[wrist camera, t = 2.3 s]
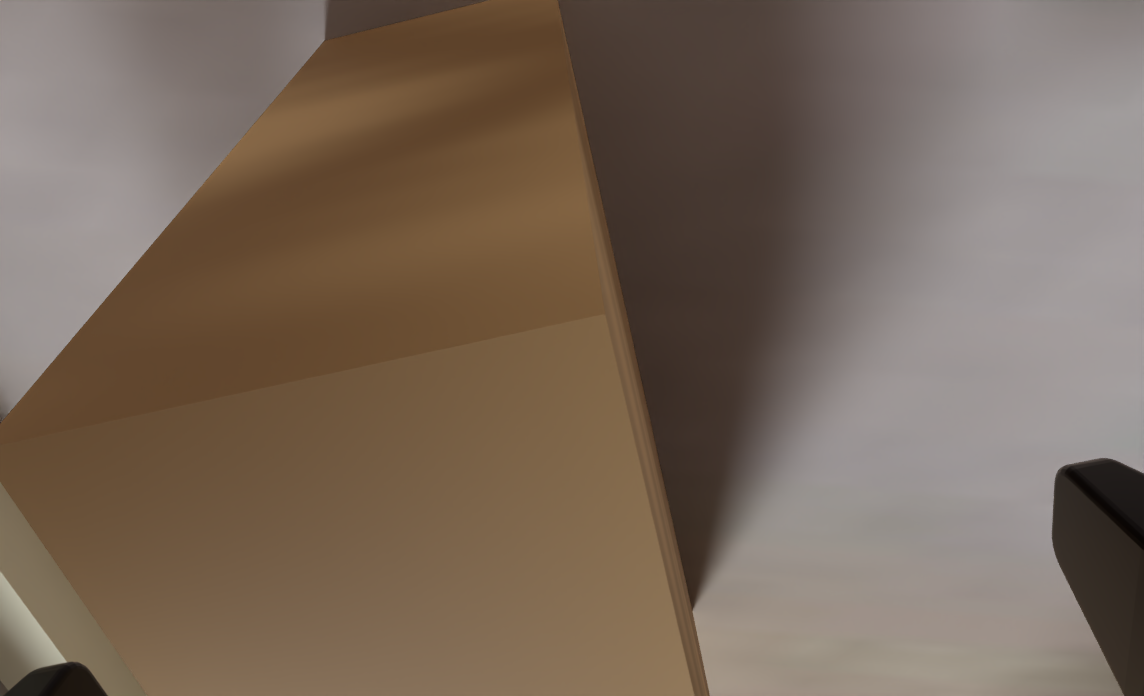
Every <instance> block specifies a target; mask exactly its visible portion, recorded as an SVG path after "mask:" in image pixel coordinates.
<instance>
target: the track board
mask: <svg viewBox="0 0 1144 696" xmlns="http://www.w3.org/2000/svg"><path fill="white" fill-rule="evenodd" d="M71 661H73V662H79V663H81V664H83V665H85V666H86V667H87V668H88V669H89V670H90V671H91V672H92V674H93V675H94V677H95V678H96V679H97V681H98V682H99V684H100V685H101V686H102V688H103V689H104V691H105V692H106V693H107V695H108V696H147V695H146V693H145V692H144V690H143V689H142V687H141V686H140V684H139V683H138V682H137V680H136V679H135V677H134V676H133V674H132V673H131V671H130V670H129V668H128V667H127V666H126V664H125V663H124V661H123V660H122V658H121V657H120V655H119V654H118V652H117V651H116V650H115V648H114V647H113V645H112V644H111V642H110V641H109V639H108V638H107V636H106V635H105V634H104V632H103V631H102V629H101V628H100V626H99V625H98V623H97V622H96V620H95V619H94V618H93V616H92V615H91V613H90V612H89V610H88V609H87V607H86V606H85V604H84V603H83V602H82V600H81V599H80V597H79V596H78V594H77V593H76V591H75V590H74V588H73V587H72V586H71V584H70V583H69V581H68V580H67V578H66V577H65V575H64V574H63V573H62V571H61V570H60V568H59V567H58V565H57V564H56V562H55V561H54V559H53V558H52V557H51V555H50V554H49V552H48V551H47V549H46V548H45V546H44V545H43V543H42V542H41V541H40V539H39V538H38V536H37V535H36V533H35V532H34V530H33V529H32V527H31V526H30V525H29V523H28V522H27V520H26V519H25V517H24V516H23V514H22V513H21V511H20V510H19V509H18V507H17V506H16V504H15V503H14V501H13V500H12V498H11V497H10V495H9V494H8V493H7V491H6V490H5V488H4V487H3V485H2V484H1V482H0V696H3V695H4V694H5V693H6V692H8V691H9V690H10V689H11V688H12V687H13V686H14V685H16V684H17V683H18V682H19V681H20V680H21V679H22V678H23V677H25V676H26V675H27V674H28V673H30V672H31V671H33V670H35V669H38V668H41V667H45V666H50V665H55V664H60V663H65V662H71Z"/></svg>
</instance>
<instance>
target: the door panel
mask: <svg viewBox="0 0 1144 696" xmlns="http://www.w3.org/2000/svg"><path fill="white" fill-rule="evenodd" d="M0 482H1V484H2V485H3V487H4V488H5V490H6V491H7V493H8V494H9V495H10V497H11V498H12V500H13V501H14V503H15V504H16V506H17V507H18V509H19V510H20V511H21V513H22V514H23V516H24V517H25V519H26V520H27V522H28V523H29V525H30V526H31V527H32V529H33V530H34V532H35V533H36V535H37V536H38V538H39V539H40V541H41V542H42V543H43V545H44V546H45V548H46V549H47V551H48V552H49V554H50V555H51V557H52V558H53V559H54V561H55V562H56V564H57V565H58V567H59V568H60V570H61V571H62V573H63V574H64V575H65V577H66V578H67V580H68V581H69V583H70V584H71V586H72V587H73V588H74V590H75V591H76V593H77V594H78V596H79V597H80V599H81V600H82V602H83V603H84V604H85V606H86V607H87V609H88V610H89V612H90V613H91V615H92V616H93V618H94V619H95V620H96V622H97V623H98V625H99V626H100V628H101V629H102V631H103V632H104V634H105V635H106V636H107V638H108V639H109V641H110V642H111V644H112V645H113V647H114V648H115V650H116V651H117V652H118V654H119V655H120V657H121V658H122V660H123V661H124V663H125V664H126V666H127V667H128V668H129V670H130V671H131V673H132V674H133V676H134V677H135V679H136V680H137V682H138V683H139V684H140V686H141V687H142V689H143V690H144V692H145V693H146V695H147V696H710V695H709V690H708V685H707V680H706V676H705V671H704V666H703V661H702V656H701V651H700V646H699V642H698V637H697V632H696V627H695V622H694V617H693V612H692V608H691V603H690V599H689V594H688V590H687V585H686V580H685V576H684V571H683V567H682V562H681V558H680V553H679V549H678V544H677V540H676V535H675V531H674V526H673V521H672V517H671V512H670V508H669V503H668V499H667V494H666V490H665V485H664V481H663V476H662V472H661V467H660V462H659V458H658V453H657V449H656V444H655V440H654V435H653V431H652V426H651V422H650V417H649V413H648V408H647V403H646V399H645V394H644V390H643V385H642V381H641V376H640V372H639V367H638V363H637V358H636V354H635V349H634V344H633V340H632V335H631V331H630V326H629V322H628V317H627V313H626V308H625V304H624V299H623V295H622V290H621V285H620V281H619V276H618V272H617V267H616V263H615V258H614V254H613V249H612V245H611V240H610V236H609V231H608V226H607V222H606V217H605V213H604V208H603V204H602V199H601V195H600V190H599V186H598V181H597V177H596V172H595V167H594V163H593V158H592V154H591V149H590V145H589V140H588V136H587V131H586V127H585V122H584V118H583V113H582V108H581V104H580V99H579V95H578V90H577V86H576V81H575V77H574V72H573V68H572V63H571V58H570V54H569V49H568V45H567V40H566V36H565V31H564V27H563V22H562V18H561V13H560V9H559V4H558V0H489V1H485V2H480V3H476V4H472V5H468V6H464V7H460V8H456V9H452V10H448V11H444V12H440V13H436V14H431V15H427V16H423V17H419V18H415V19H411V20H407V21H403V22H399V23H395V24H391V25H387V26H382V27H378V28H374V29H370V30H366V31H362V32H358V33H354V34H350V35H346V36H342V37H338V38H333V39H329V40H325V41H324V42H323V43H322V44H321V46H320V47H319V48H318V49H317V50H316V51H315V53H314V54H313V55H312V56H311V57H310V59H309V60H308V61H307V62H306V63H305V64H304V66H303V67H302V68H301V69H300V70H299V72H298V73H297V74H296V75H295V76H294V77H293V79H292V80H291V81H290V82H289V83H288V85H287V86H286V87H285V88H284V89H283V90H282V92H281V93H280V94H279V95H278V96H277V98H276V99H275V100H274V101H273V102H272V103H271V105H270V106H269V107H268V108H267V109H266V111H265V112H264V113H263V114H262V115H261V116H260V118H259V119H258V120H257V121H256V122H255V123H254V125H253V126H252V127H251V128H250V129H249V131H248V132H247V133H246V134H245V135H244V136H243V138H242V139H241V140H240V141H239V142H238V144H237V145H236V146H235V147H234V148H233V149H232V151H231V152H230V153H229V154H228V155H227V157H226V158H225V159H224V160H223V161H222V162H221V164H220V165H219V166H218V167H217V168H216V170H215V171H214V172H213V173H212V174H211V175H210V177H209V178H208V179H207V180H206V181H205V183H204V184H203V185H202V186H201V187H200V188H199V190H198V191H197V192H196V193H195V194H194V196H193V197H192V198H191V199H190V200H189V201H188V203H187V204H186V205H185V206H184V207H183V209H182V210H181V211H180V212H179V213H178V214H177V216H176V217H175V218H174V219H173V220H172V222H171V223H170V224H169V225H168V226H167V227H166V229H165V230H164V231H163V232H162V233H161V234H160V236H159V237H158V238H157V239H156V240H155V242H154V243H153V244H152V245H151V246H150V247H149V249H148V250H147V251H146V252H145V253H144V255H143V256H142V257H141V258H140V259H139V260H138V262H137V263H136V264H135V265H134V266H133V268H132V269H131V270H130V271H129V272H128V273H127V275H126V276H125V277H124V278H123V279H122V281H121V282H120V283H119V284H118V285H117V286H116V288H115V289H114V290H113V291H112V292H111V294H110V295H109V296H108V297H107V298H106V299H105V301H104V302H103V303H102V304H101V305H100V307H99V308H98V309H97V310H96V311H95V312H94V314H93V315H92V316H91V317H90V318H89V320H88V321H87V322H86V323H85V324H84V325H83V327H82V328H81V329H80V330H79V331H78V333H77V334H76V335H75V336H74V337H73V338H72V340H71V341H70V342H69V343H68V344H67V345H66V347H65V348H64V349H63V350H62V351H61V353H60V354H59V355H58V356H57V357H56V358H55V360H54V361H53V362H52V363H51V364H50V366H49V367H48V368H47V369H46V370H45V371H44V373H43V374H42V375H41V376H40V377H39V379H38V380H37V381H36V382H35V383H34V384H33V386H32V387H31V388H30V389H29V390H28V392H27V393H26V394H25V395H24V396H23V397H22V399H21V400H20V401H19V402H18V403H17V405H16V406H15V407H14V408H13V409H12V410H11V412H10V413H9V414H8V415H7V416H6V418H5V419H4V420H3V421H2V422H1V423H0Z"/></svg>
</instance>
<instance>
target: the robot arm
mask: <svg viewBox="0 0 1144 696" xmlns="http://www.w3.org/2000/svg"><path fill="white" fill-rule="evenodd" d="M1052 542H1053V548H1054V552H1055V555H1056V558H1057V561H1058V563H1059V565H1060V567H1061V569H1062V571H1063V573H1064V575H1065V577H1066V579H1067V581H1068V583H1069V585H1070V587H1071V589H1072V591H1073V593H1074V595H1075V597H1076V600H1077V602H1078V604H1079V606H1080V608H1081V610H1082V612H1083V614H1084V616H1085V618H1086V620H1087V622H1088V624H1089V626H1090V628H1091V630H1092V632H1093V634H1094V636H1095V638H1096V640H1097V642H1098V644H1099V646H1100V648H1101V650H1102V652H1103V654H1104V656H1105V658H1106V660H1107V662H1108V664H1109V666H1110V668H1111V670H1112V672H1113V674H1114V676H1115V678H1116V680H1117V682H1118V684H1119V686H1120V688H1121V690H1122V692H1123V694H1124V696H1144V473H1142V472H1140V471H1137V470H1135V469H1133V468H1131V467H1129V466H1127V465H1125V464H1123V463H1120V462H1118V461H1115V460H1113V459H1108V458H1099V459H1094V460H1089V461H1084V462H1079V463H1074V464H1069V465H1065V466H1063V467H1062V468H1060V469H1059V470H1058V472H1057V474H1056V478H1055V485H1054V504H1053V523H1052ZM3 696H108V695H107V693H106V692H105V691H104V689H103V688H102V686H101V685H100V684H99V682H98V681H97V679H96V678H95V677H94V675H93V674H92V672H91V671H90V670H89V669H88V668H87V667H86V666H85V665H83V664H81V663H79V662H73V661H71V662H65V663H60V664H55V665H50V666H45V667H41V668H38V669H35V670H33V671H31V672H30V673H28V674H27V675H26V676H25V677H23V678H22V679H21V680H20V681H19V682H18V683H17V684H16V685H14V686H13V687H12V688H11V689H10V690H9V691H8V692H6V693H5V694H4V695H3Z"/></svg>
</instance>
